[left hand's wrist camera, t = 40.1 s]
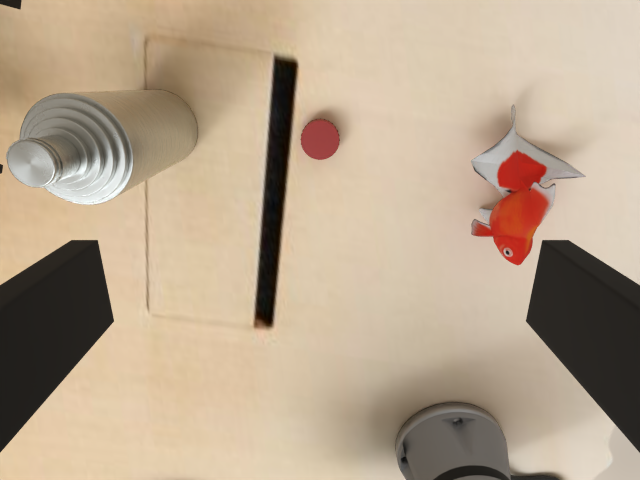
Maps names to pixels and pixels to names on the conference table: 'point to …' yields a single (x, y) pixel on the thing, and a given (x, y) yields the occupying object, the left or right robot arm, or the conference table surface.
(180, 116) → the bottle
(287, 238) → the conference table surface
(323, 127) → the cap
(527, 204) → the fish
